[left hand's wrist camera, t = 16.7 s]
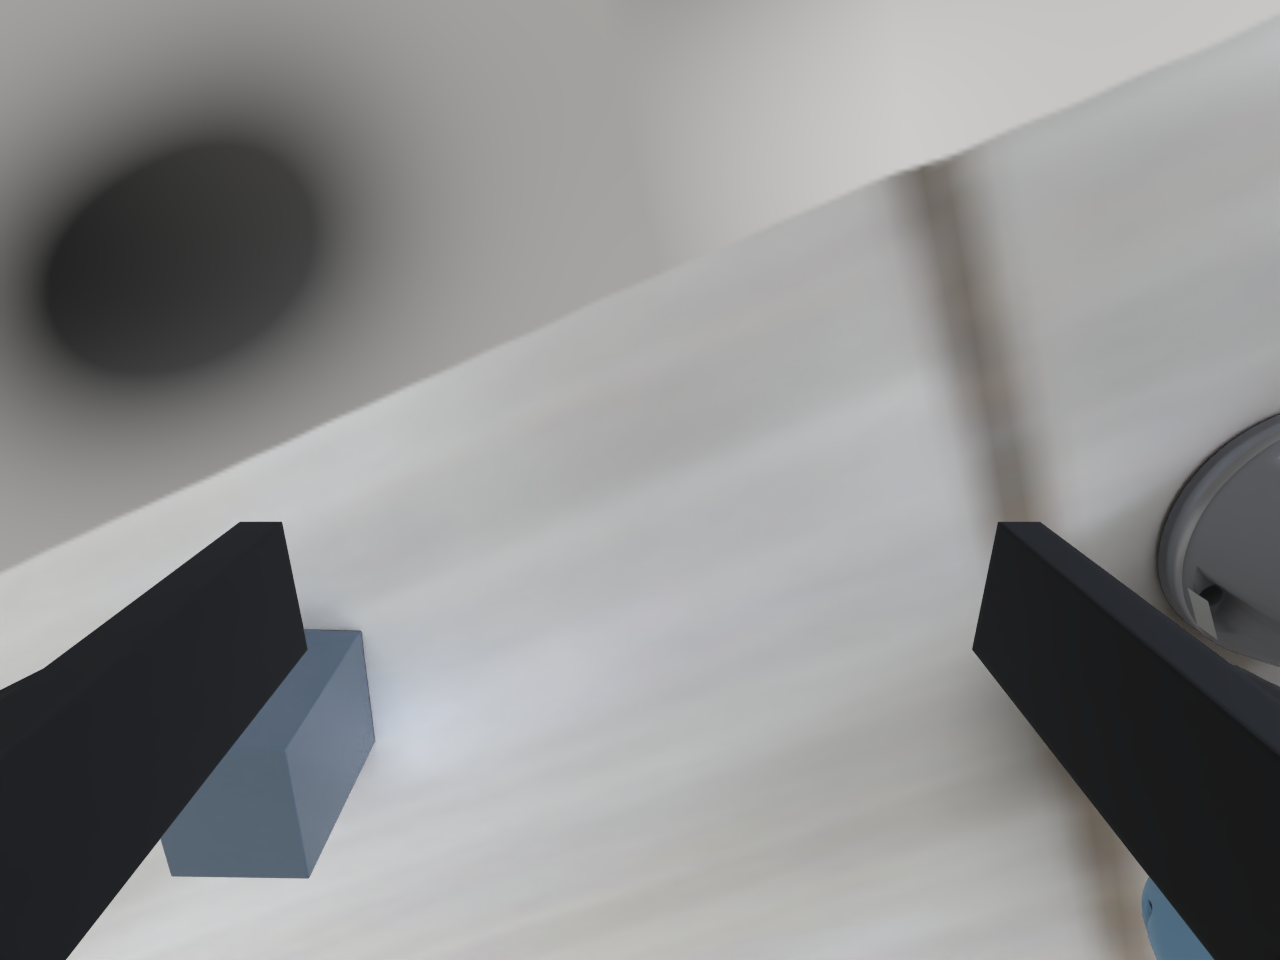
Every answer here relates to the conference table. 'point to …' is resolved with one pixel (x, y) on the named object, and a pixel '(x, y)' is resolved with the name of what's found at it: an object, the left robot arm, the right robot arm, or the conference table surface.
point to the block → (282, 773)
